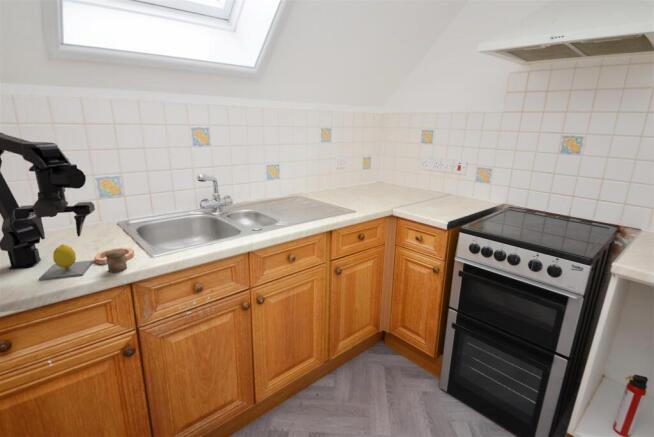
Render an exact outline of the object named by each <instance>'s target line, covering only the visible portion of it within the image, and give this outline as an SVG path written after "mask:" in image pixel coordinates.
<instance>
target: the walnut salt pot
mask: <svg viewBox="0 0 654 437" xmlns="http://www.w3.org/2000/svg"><path fill="white" fill-rule="evenodd" d="M125 255H126V253H125V250H124V249H115V250H110V251H108V252H106V253H105V258H107V268H108V272H109V273H121V272H124V271H126V270H127V268H128V264H127V261H126V258H125Z"/></svg>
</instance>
